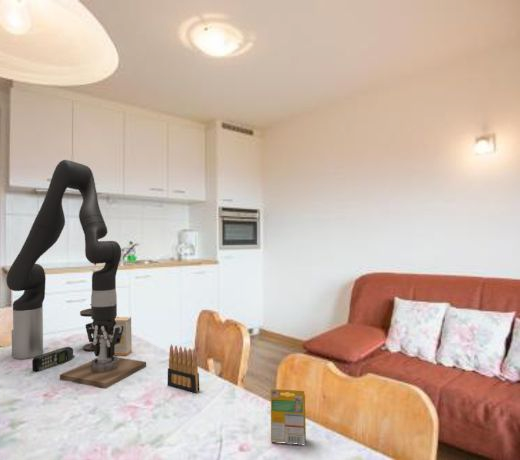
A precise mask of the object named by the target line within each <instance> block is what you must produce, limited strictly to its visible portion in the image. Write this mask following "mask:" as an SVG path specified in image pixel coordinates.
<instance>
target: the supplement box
mask: <svg viewBox="0 0 520 460" xmlns="http://www.w3.org/2000/svg"><path fill="white" fill-rule="evenodd" d="M115 322H116V325H118V326H123V327H124V328H123V333H122V337H121V341H120V343H119V344H116V345H115V354H114V356H128V355H129V354H130V353H131V352H132V351H133V348H132V347H133V343H132V342H133V341H132V338H133V337H132V317H131V316H116V318H115ZM110 335H111V334H110ZM110 335H108V336H110ZM110 341H111V339H110Z"/></svg>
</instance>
